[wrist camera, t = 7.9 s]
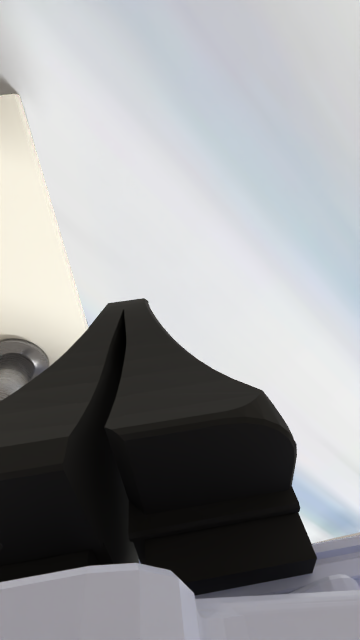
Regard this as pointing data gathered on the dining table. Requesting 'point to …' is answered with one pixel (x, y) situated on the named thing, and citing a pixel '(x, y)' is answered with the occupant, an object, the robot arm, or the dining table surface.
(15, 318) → the board
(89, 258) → the dining table surface
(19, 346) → the hinge post
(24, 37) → the dining table surface
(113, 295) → the dining table surface
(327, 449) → the dining table surface
